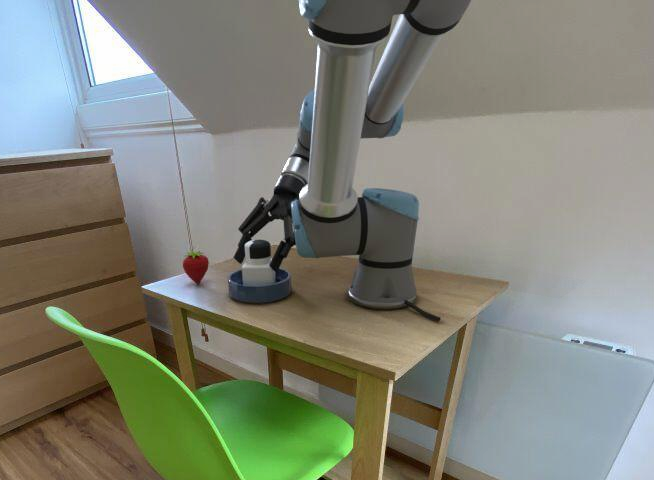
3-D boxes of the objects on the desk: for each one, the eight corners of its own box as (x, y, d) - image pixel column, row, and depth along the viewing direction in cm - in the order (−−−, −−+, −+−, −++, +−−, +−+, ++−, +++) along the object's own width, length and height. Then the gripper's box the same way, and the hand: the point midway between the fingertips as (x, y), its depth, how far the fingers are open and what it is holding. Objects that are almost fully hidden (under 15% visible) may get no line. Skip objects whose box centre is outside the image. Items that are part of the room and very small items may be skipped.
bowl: (303, 293, 106) (303, 275, 104) (254, 310, 98) (253, 291, 96) (264, 279, 116) (263, 262, 114) (217, 294, 108) (215, 276, 106)
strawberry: (216, 281, 116) (212, 243, 111) (196, 290, 111) (191, 250, 106) (200, 278, 119) (195, 241, 114) (180, 286, 114) (174, 247, 109)
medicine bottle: (275, 286, 110) (274, 237, 103) (273, 296, 104) (271, 245, 97) (248, 286, 110) (244, 237, 104) (243, 296, 104) (239, 245, 98)
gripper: (340, 197, 101) (300, 281, 99) (265, 190, 113) (228, 264, 112) (328, 175, 95) (286, 264, 93) (250, 170, 107) (211, 248, 106)
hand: (254, 264), depth 103 cm, fingers open, 10 cm apart
